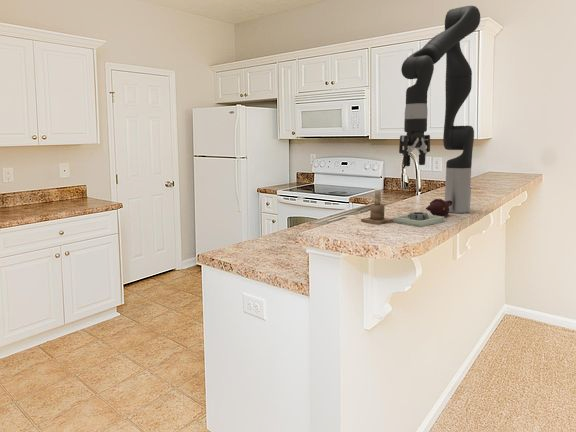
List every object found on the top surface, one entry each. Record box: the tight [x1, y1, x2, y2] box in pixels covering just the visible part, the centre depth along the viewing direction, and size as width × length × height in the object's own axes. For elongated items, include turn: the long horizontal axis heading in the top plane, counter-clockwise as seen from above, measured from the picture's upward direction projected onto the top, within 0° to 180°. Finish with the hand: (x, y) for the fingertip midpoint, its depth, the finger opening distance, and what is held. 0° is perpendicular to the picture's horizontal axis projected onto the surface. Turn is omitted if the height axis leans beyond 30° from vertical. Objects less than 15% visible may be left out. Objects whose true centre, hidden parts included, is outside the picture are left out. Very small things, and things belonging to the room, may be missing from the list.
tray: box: [392, 213, 445, 228], centre depth 161 cm, size 14×12×2 cm
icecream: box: [425, 198, 452, 217], centre depth 171 cm, size 7×7×15 cm
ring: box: [408, 211, 429, 221], centre depth 161 cm, size 8×6×2 cm
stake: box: [360, 189, 394, 226], centre depth 162 cm, size 8×8×11 cm
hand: (414, 165), depth 160 cm, fingers open, 8 cm apart
